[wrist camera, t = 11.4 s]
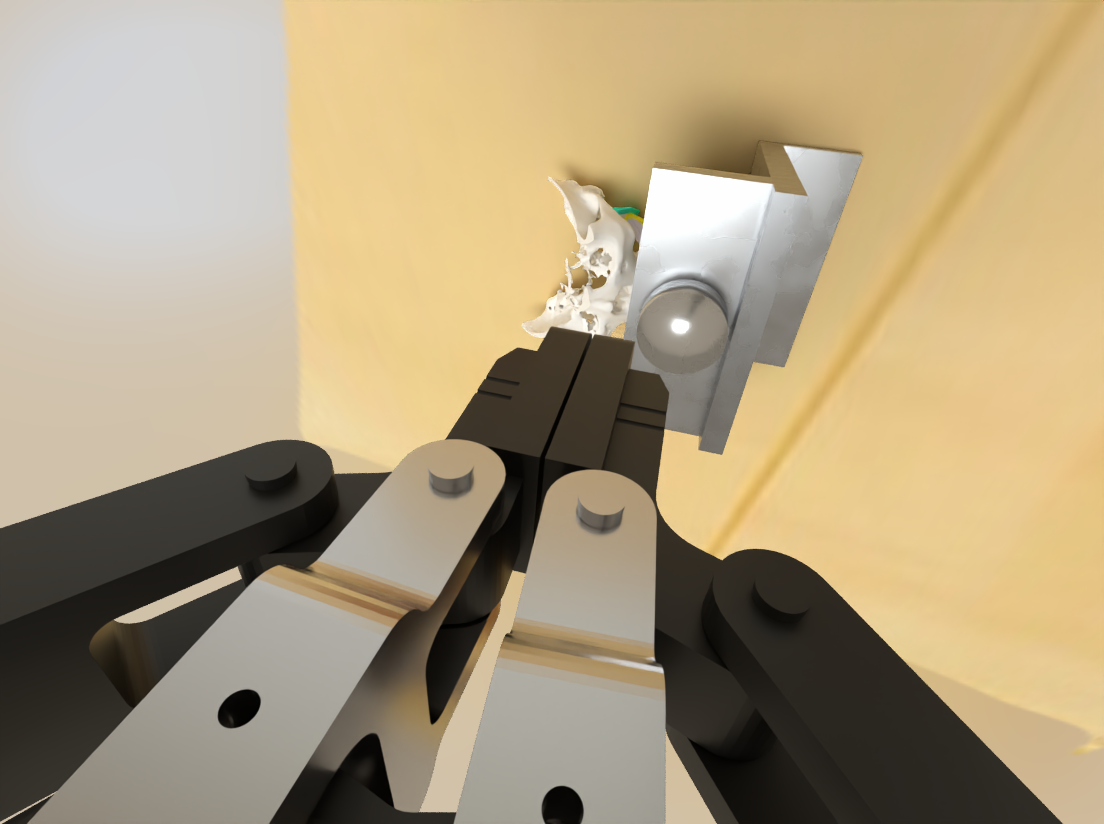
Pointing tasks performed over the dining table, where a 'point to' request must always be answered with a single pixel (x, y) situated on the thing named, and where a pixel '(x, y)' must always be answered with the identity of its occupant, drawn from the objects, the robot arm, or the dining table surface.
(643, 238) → the bracket
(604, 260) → the white irregular lump
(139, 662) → the robot arm
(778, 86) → the dining table surface
